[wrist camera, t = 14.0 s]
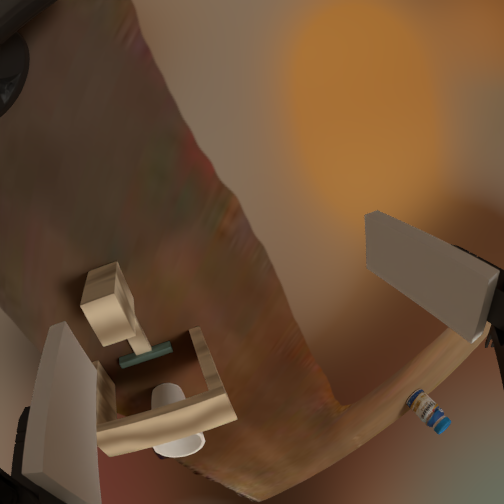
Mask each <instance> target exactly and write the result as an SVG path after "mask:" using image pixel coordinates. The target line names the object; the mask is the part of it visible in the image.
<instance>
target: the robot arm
mask: <svg viewBox="0 0 504 504" xmlns="http://www.w3.org/2000/svg"><path fill="white" fill-rule="evenodd" d="M56 1H57V0H0V117H1V116H2V115H3V114H4V113H5V112H6V111H7V110H8V109H9V108H10V107H11V106H12V105H13V103H14V102H15V101H16V99H17V98H18V96H19V94H20V92H21V90H22V88H23V86H24V84H25V81H26V78H27V74H28V70H29V50H28V46H27V43H26V41H25V40H24V38H23V37H22V36H21V35H20V34H19V33H18V32H17V31H18V30H19V29H20V28H22V27H23V26H24V25H25V24H26V23H28V22H29V21H30V20H31V19H33V18H34V17H35V16H37V15H38V14H39V13H41V12H42V11H43V10H45V9H46V8H47V7H49V6H50V5H52V4H53V3H54V2H56ZM365 232H366V264H367V269H369V270H370V271H372V272H373V273H374V274H376V275H377V276H379V277H380V278H382V279H383V280H384V281H386V282H387V283H389V284H390V285H392V286H393V287H395V288H396V289H397V290H399V291H400V292H402V293H403V294H404V295H406V296H407V297H409V298H410V299H411V300H413V301H414V302H416V303H417V304H418V305H420V306H421V307H423V308H424V309H425V310H427V311H428V312H429V313H431V314H432V315H434V316H435V317H436V318H438V319H439V320H440V321H442V322H443V323H444V324H446V325H447V326H448V327H450V328H451V329H452V330H454V331H455V332H456V333H458V334H459V335H460V336H462V337H463V338H464V339H466V340H467V341H468V342H470V343H471V344H472V343H473V342H474V341H475V340H476V339H477V338H478V337H479V336H480V335H482V334H483V331H484V327H485V324H486V321H488V322H489V323H491V327H490V330H489V333H488V336H487V339H486V342H485V348H487V347H488V345H489V342H490V340H491V339H492V341H493V342H492V344H491V347H494V348H495V352H496V356H497V360H498V365H499V369H500V374H501V378H502V383H503V388H504V270H503V269H501V268H499V267H497V266H495V265H493V264H492V263H490V262H488V261H486V260H484V259H482V258H480V257H477V256H476V255H475V254H473V253H469V251H467V250H465V249H463V248H461V247H459V246H455V245H452V244H448V243H446V242H444V241H442V240H440V239H438V238H436V237H434V236H432V235H430V234H428V233H426V232H424V231H422V230H419V229H417V228H415V227H413V226H411V225H409V224H407V223H404V222H402V221H400V220H398V219H395V218H393V217H391V216H389V215H387V214H384V213H382V212H380V211H378V210H377V211H374V212H372V213H369V214H366V215H365ZM96 385H97V370H96V368H95V367H94V365H93V364H92V362H91V361H90V360H89V358H88V357H87V355H86V354H85V352H84V350H83V349H82V347H81V346H80V344H79V343H78V341H77V339H76V338H75V336H74V335H73V333H72V331H71V330H70V328H69V326H68V325H67V323H66V321H64V322H61V323H58V324H56V325H53V326H50V328H49V332H48V335H47V339H46V342H45V346H44V349H43V353H42V357H41V361H40V365H39V369H38V373H37V377H36V382H35V387H34V391H33V396H32V401H31V406H29V407H25V409H24V411H23V413H22V415H21V416H20V419H19V422H18V428H17V433H18V434H17V435H16V440H15V442H16V444H15V447H14V454H13V462H12V472H11V476H10V475H8V474H7V473H6V472H4V471H3V470H2V469H1V468H0V504H102V503H101V494H100V484H99V473H98V459H97V435H96Z"/></svg>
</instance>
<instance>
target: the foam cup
mask: <svg viewBox="0 0 504 504" xmlns="http://www.w3.org/2000/svg"><path fill="white" fill-rule="evenodd" d="M184 399H186V398H185V396H184V394H183V392H182V390H181V388H180V387H179V386H177V385H175V384H172V383H163V384H161V385H158V386H156V387H155V388H154V389H153V391H152V399H151V410H152V409H156V408H159V407H162V406H165V405H168V404H172V403H175V402H178V401H181V400H184ZM204 443H205V439H204V436H203V433H202V432H200V433H197V434H194V435H191V436H188V437H185V438H181V439H178V440H175V441H171V442H168V443H164V444H161V445H157V446H154V447H153V448H154V450H155V452H157V453H159V454H161V455H163V456H167V457H183V456H187V455H190V454H193V453H195V452H197V451H198V450H200V449H201V448H202V447H203V445H204Z"/></svg>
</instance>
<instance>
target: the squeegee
mask: <svg viewBox="0 0 504 504" xmlns="http://www.w3.org/2000/svg"><path fill="white" fill-rule="evenodd" d="M80 307H81V308H82V310H83V312H84V314H85V316H86V318H87V319H88V321H89V323H90V325H91V326H92V328H93V330H94V332H95V333H96V335H97V337H98V338H99V340H100V342H101V343H102V345H103V347H104V346H107V345H110V344H113V343H116V342H119V341H122V340H125V339H127V340H128V341H129V343H130V345H131V347H132V348H133V350H134V352H135V353H131V354H128V355H125V356H122V357H119V364H120V366H121V367H122V369H123V368H126V367H129V366H132V365H135V364H138V363H141V362H144V361H147V360H150V359H153V358H156V357H159V356H162V355H165V354H168V353H171V352H173V349H172V345H171V343H170V341H167V342H164V343H161V344H158V345H155V346H152V347H151V345H150V343H149V342H148V340H147V338H146V336H145V334H144V332H143V330H142V328H141V326H140V324H139V322H138V320H137V318H136V316H135V314H134V298H133V296H132V294H131V292H130V290H129V287H128V285H127V283H126V281H125V278H124V276H123V274H122V271H121V269H120V267H119V264H118V262H117V261H115V262H113V263H110V264H107V265H105V266H102V267H99V268H96V269H94V270H91V271H88V275H87V279H86V283H85V287H84V291H83V295H82V299H81V303H80Z"/></svg>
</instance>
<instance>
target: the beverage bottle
mask: <svg viewBox="0 0 504 504" xmlns="http://www.w3.org/2000/svg"><path fill="white" fill-rule="evenodd" d="M407 405H408V406H409V407H410V408H411V409H412V410H413V411H414V412H415V413H416V414H417V416H418V417H419V418H420V419H421V421H423V422H425V423H426V425H427V426H429V427H434V431H435V432H436V433H437V434H441V433H442V432H443V431H445V430H446V429H447V428H448V426H449V425H450V423H451V420H450V419H449V418H448V417H446V416H445V417H444V412H443V410H442V409H441V408H439V405H438V404H436V403H435V402H434V401H433V400H432V399H431V398H430V397H429V396H428V395H427V394H426V393H425V392H424V391H423V390H422V389H418V390H416V391H415V392H414V393H413V394H412V395H411V396H410V397H409V398H408V400H407Z"/></svg>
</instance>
